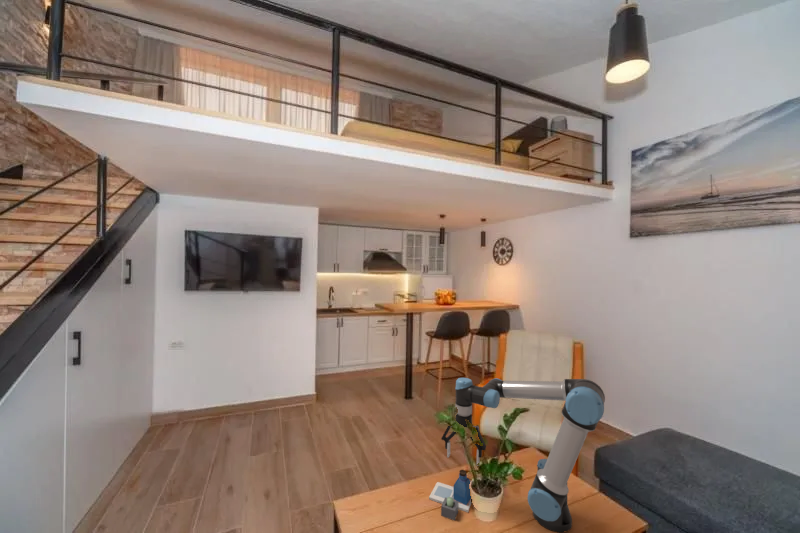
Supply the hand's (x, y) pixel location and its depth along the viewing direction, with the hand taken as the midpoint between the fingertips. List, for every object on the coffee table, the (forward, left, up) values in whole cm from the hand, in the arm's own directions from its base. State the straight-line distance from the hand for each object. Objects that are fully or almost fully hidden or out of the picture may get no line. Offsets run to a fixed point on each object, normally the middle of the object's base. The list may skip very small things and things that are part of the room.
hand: (463, 459), depth 144 cm
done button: (+3, +10, -16) cm, 19 cm away
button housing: (+3, +10, -19) cm, 21 cm away
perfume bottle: (0, 0, -18) cm, 18 cm away
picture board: (+5, 0, -19) cm, 19 cm away
